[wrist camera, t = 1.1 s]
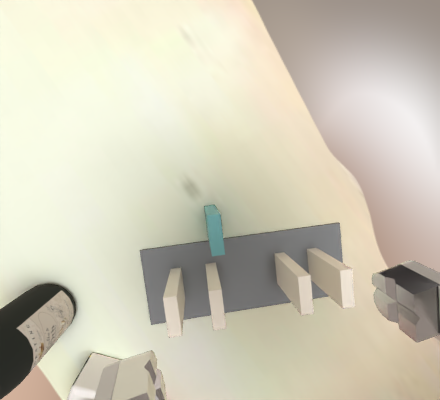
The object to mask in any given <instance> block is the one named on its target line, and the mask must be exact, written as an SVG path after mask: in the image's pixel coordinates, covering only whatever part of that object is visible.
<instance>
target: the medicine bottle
mask: <svg viewBox="0 0 440 400" xmlns="http://www.w3.org/2000/svg"><path fill="white" fill-rule="evenodd" d="M117 361H121V360H119V359H115V358H111V357H107V356H104V355H100V354H96V353H91V355H90V356H89V358H88V360H87V361H86V363H85V365H84V366H83V368H82V370H81V372H80V373H79V375H78V377H77V378H76V380H75V382H74V383H73V385H72V387H71V390H70V393H69V395H68V398H67V400H94V398H95V395H96V391H97V388H98V385H99V381H100V378H101V374H102V371H103V368H104V367H105V366H106V365H108V364H111V363H114V362H117Z"/></svg>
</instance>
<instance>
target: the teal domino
mask: <svg viewBox="0 0 440 400" xmlns="http://www.w3.org/2000/svg"><path fill="white" fill-rule="evenodd" d="M204 208H205V216H206V224H207V232H208V239H209V244H210V249H211V254H212V256H219V255H225V249H224V241H223V233H222V224H221V216H220V213H219V211H218V210H217V208H216V206H215V205H209V206H204Z"/></svg>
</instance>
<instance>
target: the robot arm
mask: <svg viewBox="0 0 440 400" xmlns="http://www.w3.org/2000/svg"><path fill="white" fill-rule="evenodd" d="M372 284H373V285H374V286H375V287H376V290H375V292H374V301H375V304H376V306H377V308H378V310H379V311H380V313H381V314H382V315H383V316H384V317H385V318H387V319H388V320H389V321H393V322H396V323H398V325H399V329H400V330H402V331H403V332H404V333H405V334H407V335H408V336H409V337H410V338H412V339H413V340H414V341H415V342H420V341H423V340H426V339H429V338H432V337H434V336H437V335H440V273H439V272H437V271H435V270H433V269H431V268H428V267H426V266H424V265H422V264H420V263H418V262H415V261H411V260H409V261H406V262H403V263H401V264H398V265H397V266H394V267H391V268H388V269H385V270H382V271H380V272H377V273H374V274H373V276H372ZM94 400H166V389H165V382H164V378H163V375H162V372H161V370H159V369H157V358H156V356H155V353H154V351H152V350H151V351H148V352H145V353H142V354H138V355H135V356H132V357H129V358H126V359H123V360H121V361H117V362H114V363H111V364H108V365H106V366H105V367H104V368H103V371H102V374H101V378H100V381H99V385H98V388H97V391H96V395H95V398H94ZM438 400H440V399H438Z"/></svg>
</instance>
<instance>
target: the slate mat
mask: <svg viewBox="0 0 440 400" xmlns="http://www.w3.org/2000/svg"><path fill="white" fill-rule="evenodd" d="M223 241H224V249H225V255H219V256H212V254H211V249H210V244H209V241H203V242H195V243H188V244H181V245H174V246H166V247H159V248H152V249H145V250H140V255H141V261H142V268H143V274H144V281H145V287H146V294H147V301H148V307H149V314H150V320H151V325H153V324H159V323H165V322H166V316H165V309H164V302H163V296H164V292H165V288H166V285H167V281H168V277H169V274H170V270H171V269H174V268H181V270H182V278H183V285H184V292H185V307H184V318H183V320H184V319H190V318H196V317H203V316H209V315H211V308H210V300H209V292H208V283H207V274H206V265H205V264H209V263H216V267H217V271H218V276H219V280H220V284H221V289H222V297H223V305H224V313H227V312H234V311H240V310H246V309H252V308H259V307H265V306H271V305H277V304H284V303H290V302H291V301H290V300H289V298H288V297H287V296H286V294H285V293H284V292H283V290H282V289H281V288H280V286H279V285H278V284H277V275H276V266H275V256H274V254H275V253H282V252H284V253H285V254H287V255H288V256H289V257H290V258H291V259H292V260H294V261H295V262H296V263H297V264H298V265H299V266H300V267H302V268H303V269H304V270H305V271H306V272H307V273H309V267H308V256H307V249H310V248H318V249H320V250H321V251H323V252H325V253H326V254H328V255H330V256H331V257H333V258H335V259H336V260H338V261H340V262H341V263H343V261H342V248H341V234H340V223H333V224H325V225H318V226H311V227H304V228H297V229H289V230H282V231H275V232H268V233H260V234H253V235H246V236H239V237H232V238H224V239H223ZM311 287H312V298H313V299H315V298H321V297H327V296H328V295H327V294H326V293H325V292H324V291H323V290H322V289H320V288H319V287H318V286H317V285H316V284H315V283H314V282H313V281H312V280H311Z"/></svg>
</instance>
